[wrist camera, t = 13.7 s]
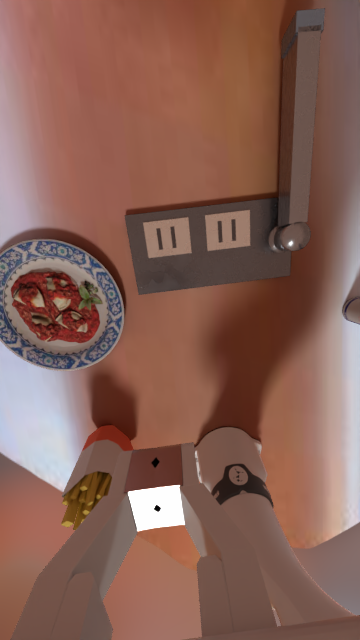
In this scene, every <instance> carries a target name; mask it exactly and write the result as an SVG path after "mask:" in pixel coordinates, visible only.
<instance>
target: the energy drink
mask: <svg viewBox="0 0 360 640" xmlns="http://www.w3.org/2000/svg"><path fill="white" fill-rule="evenodd" d="M343 316H344V318H345V319H346V320H348V321H351V322H354V323H357V324H360V297H355V298H352V299H350V300H349V301H348V302H347V303H346V304H345V305H344V307H343Z"/></svg>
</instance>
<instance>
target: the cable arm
mask: <svg viewBox="0 0 360 640" xmlns="http://www.w3.org/2000/svg"><path fill="white" fill-rule="evenodd" d="M324 14H325V8H323V9H311V10H300V11H296V13H295V15H294V17H293V19H292V21H291V23H290V25H289V27H288V29H287V31H286V33H285V34H284V36H283V38H282V49H281V58H283V82H282V113H281V144H280V175H279V206H278V227H280V228H279V229H278V230H277V231H276V233H275V235H274V245H275V247H276V248H277V249H278V250H280V251H295V250H300V249H302V248H304V247H305V246H306V245H307V243H308V242H309V240H310V236H311V231H310V228H309V226H308V225H307V224H306V223H305V222H307V221H308V207H309V193H310V179H311V164H312V150H313V136H314V122H315V108H316V94H317V80H318V66H319V52H320V38H321V33H322V31H323V28H324Z"/></svg>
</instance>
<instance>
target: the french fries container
mask: <svg viewBox="0 0 360 640" xmlns="http://www.w3.org/2000/svg"><path fill="white" fill-rule="evenodd" d="M131 450H133V447H132V445H131V442H130V440H129V438H128V437H127V436H126V435H125V434H124V433H122V432H121V431H120V430H119V429H117V428H116V427H115V426H114V425H107V426H101V427H100V428H98V429H97V430H96V431H95V432H93V433H92V434H91V435H90V436H89V437H88V439H87V441H86V443H85V445H84V448H83V450H82V452H81V454H80V457H79V459H78V461H77V463H76V466H75V468H74V470H73V472H72V474H71V477H70V479H69V481H68V483H67V486H66V488H65V490H64V492H63V495H62V497H64V500H63V502H62V503H63V504H64V505H68V504H69V505H68V508H67V510H66V513H65V515H64V518H63V521H62V523H61V525H63V526H66V527H69V526H71V525H72V524H74V521H75V524H74V528H73V530H76V529H77V528H78V527H79V526H80V524H81V522H83V521H84V519H85V518H86V517H87V516H88V515H89V513H90V512H91V511H92V510H93V509H94V507H95V506H96V505H97V504H98V502H99V501H100V500H101V499H102V498H103V496H108V492H109V489H110V485H111V482H112V478H113V474H114V471H115V467H116V464H117V460H118V456H119V454H120V453H121V452H122V451H131ZM78 507H79V508H78ZM77 511H78V512H77ZM76 514H77V516H76ZM75 518H76V520H75Z"/></svg>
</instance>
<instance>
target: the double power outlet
mask: <svg viewBox="0 0 360 640" xmlns="http://www.w3.org/2000/svg"><path fill="white" fill-rule="evenodd" d="M278 206H279V197H278V198H269V199H261V200H252V201H244V202H236V203H227V204H219V205H210V206H202V207H193V208H185V209H176V210H168V211H160V212H151V213H143V214H134V215H126V216H125V220H126V226H127V231H128V237H129V243H130V248H131V254H132V259H133V265H134V271H135V276H136V282H137V287H138V293H139V295H141V294H149V293H157V292H165V291H173V290H181V289H188V288H196V287H204V286H212V285H220V284H228V283H236V282H244V281H252V280H260V279H268V278H276V277H284V276H290V266H291V251H280V250H278V249H277V248H276V247H275V245H274V235H275V233H276V231H277V230H278V229H279V228H280V227H278Z"/></svg>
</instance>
